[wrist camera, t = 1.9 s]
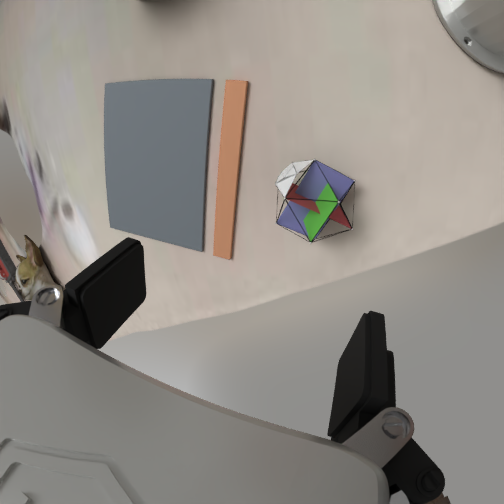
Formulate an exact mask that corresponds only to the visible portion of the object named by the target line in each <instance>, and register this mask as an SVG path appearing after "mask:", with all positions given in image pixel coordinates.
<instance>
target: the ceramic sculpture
mask: <svg viewBox="0 0 504 504" xmlns="http://www.w3.org/2000/svg"><path fill="white" fill-rule="evenodd" d="M25 240H26V253H27V258H25V257H23V256H20V255H16V257H17V259H18V260H19V261H20V262H21V263H20V264H19V265H18V266H17V269H16V282H17V283H18V284H19V287H20V289H19V290H18V293H19V295H21V296H22V297H23V298H24V299H26V300H32V298H33V296H34V294H35V293H36V291H37V290H39V289H40V288H42V287H45V286H49V285H54V286H58V287H59V288H61V289H62V287H61V286H60V285H57V284H55V283H54V281H53V280H52V278H51V276H50V273H49V271H48V269H47V267H46V265H45V263H44V262H43V260H42V256H41V253H40V250H39V248H38V247H37V246H36V244H35V243H34V242H33V241H32V240H31V239H30V238H29V237H28V236H27V235H25Z"/></svg>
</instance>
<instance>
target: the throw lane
mask: <svg viewBox="0 0 504 504" xmlns="http://www.w3.org/2000/svg"><path fill="white" fill-rule="evenodd" d="M213 80H214V79H158V80H140V81H127V82H116V83H107V84H105V98H104V151H105V173H106V188H107V201H108V211H109V221H110V227H111V228H114V229H118V230H122V231H125V232H129V233H133V234H137V235H140V236H144V237H148V238H152V239H155V240H159V241H163V242H167V243H170V244H174V245H178V246H182V247H185V248H189V249H193V250H197V251H201V252H202V251H203V240H204V211H205V189H206V170H207V154H208V139H209V125H210V113H211V101H212V90H213ZM247 88H248V81H238V80H226V85H225V95H224V106H223V117H222V128H221V140H220V153H219V166H218V181H217V196H216V213H215V231H214V252H213V255H214V256H218V257H222V258H226V259H231V256H232V244H233V232H234V220H235V209H236V198H237V187H238V176H239V165H240V155H241V145H242V135H243V125H244V116H245V106H246V97H247Z"/></svg>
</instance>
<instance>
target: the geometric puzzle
mask: <svg viewBox="0 0 504 504" xmlns="http://www.w3.org/2000/svg"><path fill="white" fill-rule="evenodd" d="M312 161H313V162H312ZM311 162H312V163H311ZM310 163H311V165H310V166H311V167H310V166H309V167H310V168H309V167H308V168H309V170H308V168H307V170H305V172H306V171H308V172H307V173H306V175H305V177H304V178H303V180H302V182H301V183H300V185H299V186H298V185H296V184H297V183H298V181H299V180H300V179H301V177H302V176H303V175H304V174H305V172H304V174H303V175H302V176H301V177H300V179H299V180H298V181H297V183H296V184H293V181H294V179H295V177H296V175H297V173H299V172H300V171H301V170H302V169H304V168H305V167H306V166H307V165H309V164H310ZM301 172H303V171H301ZM353 184H354V190H355V180H352V179H350V178H349V177H347V176H345V175H343V174H341V173H340V172H338V171H336V170H334V169H332V168H330V167H328V166H326V165H324V164H323V163H321V162H319V161H317V160H316V159H314V160H307V161H299V162H292V163H291V164H290V165H289V166H288V167H287V168H285V169H284V170H283V171H282V172H281V174H280V176H278V179H277V181H276V183H275V185H276V186H277V188H278V189H279V191H280V192H281V194H282V195H283V197H284V201H285V200H286V199H287V200H290V201H289V203H288V202H287V200H286V202H287V204H288V205H287V206H286V208H285V210H284V211H283V213H282V215H281V216H280V218H279V216H278V218H279V219H277V216H276V223H275V224H278V225H280V226H284V227H286V228H289V229H291V230H294V231H296V232H298V233H301V234H303V235H306V236H307V238H308V237H309V238H308V240H309V239H310V240H309V241H308V242H310V244H311V243H312V242H313V241H314V240H315V239H318V238H317V236H318V235H319V233H320V232H321V231H322V229H323V228H324V226H325V225H326V224H327V222H328V221H329V219H332V220H334V221H336V222H338V223H340V224H342V225H345V226H347V227H349V228H351V229H350V230H353V228H352V227H353V223H352V227H351V224H350V222H349V220H348V218H347V216H346V214H345V212H344V210H343V208H342V206H341V203H342V201H343V199H344V198H345V196H346V195H347V193H348V192H349V190H350V189H351V187H352V185H353ZM284 201H283V204H284ZM277 203H278V196H277ZM283 204H282V207H283ZM340 206H341V207H340ZM282 207H281V209H282ZM341 208H342V209H341ZM353 211H354V206H353ZM280 212H281V210H280ZM279 215H280V213H279ZM284 227H283V228H284ZM286 228H285V229H286ZM287 230H288V229H287ZM289 231H290V230H289ZM346 231H348V230H346ZM342 232H345V231H342ZM342 232H341V233H342ZM292 233H293V232H292ZM339 233H340V232H339ZM339 233H338V234H339ZM294 234H295V233H294ZM296 235H297V234H296ZM331 235H332V236H333V234H331ZM335 235H336V233H335ZM327 236H329V235H327ZM299 237H300V236H299ZM324 237H325V236H324ZM329 237H330V236H329ZM301 238H302V237H301ZM320 238H321V237H320ZM326 238H327V237H326ZM303 239H304V238H303ZM313 239H314V240H313ZM323 239H324V238H323ZM320 240H321V239H320ZM306 241H307V240H306ZM317 241H318V240H317ZM314 242H315V241H314Z"/></svg>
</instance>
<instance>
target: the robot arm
mask: <svg viewBox="0 0 504 504" xmlns="http://www.w3.org/2000/svg"><path fill="white" fill-rule="evenodd" d="M433 3H434V6H435V9H436V12H437V14H438V16H439V18H440V20H441V22H442V24H443V25H444V27H445V28H446V30H447V31H448V33H449V34H450V36H451V37H452V38H453V39H454V40H455V42H456V43H457V44H458V45H459V46H460V47H461V48H462V49H463V50H464V51H465V52H466V53H467V54H468V55H469V56H471V57H472V58H473V59H475V60H476V61H477V62H478V63H480V64H482V65H484V66H485V67H487V68H489V69H491V70H494V71H496V72H499V73H504V0H433ZM464 40H465V41H466V43H467V44H465V42H464ZM65 288H66V289H65V290H64V291H62V289H61V288H59V287H58V286H54V285H49V286H45V287H42V288H40V289H39V290H37V291H36V293H35V294H34V296H33V298H32V301H26V302H19V303H12V304H5V305H1V306H0V504H451V503H450V501H449V498H448V496H446V497H444V495H443V493H442V491H443V489H444V486H445V478H444V475H443V473H442V472H441V470H440V469H439V468H438V467H437V465H436V464H435V463H434V462H433V461H432V460H431V459H430V458H429V457H428V455H427V454H426V453H425V452H424V451H423V450H422V449H421V448H420V446H419V445H418V444H417V443H416V442H415V441H414V440H413V439H412V435H413V433H414V423H413V420H412V418H411V417H410V415H409V414H408V413H407V412H405V411H404V410H402V409H400V408H396V403H395V402H396V399H395V372H394V356H393V352H392V351H388V350H387V346H386V331H385V319H384V315H383V314H380V313H377V312H373V311H369V313H368V314H366V313H364V314H363V316H362V317H361V319H360V321H359V323H358V325H357V327H356V329H355V331H354V333H353V335H352V337H351V339H350V341H349V343H348V345H347V347H346V348H345V350H344V352H343V354H342V356H341V358H340V360H339V364H338V369H337V376H336V383H335V390H334V397H333V404H332V410H331V416H330V422H329V428H328V436H330V437H331V440H328V439H325V438H321V437H318V436H314V435H311V434H308V433H304V432H300V431H296V430H293V429H289V428H286V427H282V426H279V425H276V424H272V423H269V422H266V421H263V420H259V419H256V418H253V417H250V416H247V415H244V414H241V413H238V412H235V411H233V410H230V409H227V408H224V407H221V406H219V405H216V404H213V403H211V402H208V401H206V400H203V399H200V398H198V397H195V396H193V395H191V394H188V393H186V392H183V391H181V390H179V389H176V388H174V387H172V386H169V385H167V384H165V383H163V382H160V381H158V380H156V379H154V378H152V377H150V376H148V375H146V374H144V373H141V372H139V371H137V370H135V369H133V368H131V367H129V366H127V365H125V364H123V363H121V362H119V361H117V360H116V359H114V358H112V357H110V356H108V355H106V354H104V353H103V352H101V351H99V350H97V349H100V348H102V347H103V346H104V344H105V343H106V342H107V341H108V340H109V339H110V338H111V337H112V335H113V334H114V333H115V332H116V331H117V330H118V329H119V328H120V327H121V325H122V324H123V323H124V322H125V321H126V320H127V319H128V318H129V317H130V316H131V315H132V313H133V312H134V311H135V310H136V309H137V308H138V307H139V306H140V305H141V304H142V303H143V302H144V300H145V298H146V283H145V268H144V249H143V246H142V245H141V242H140V241H138V240H135V239H132V238H129V237H128V238H126V239H124V240H123V241H121V242H120V243H119V244H117V245H116V246H115V247H113V248H112V249H111V250H109V251H108V252H107V253H105V254H104V255H103V256H101V257H100V258H99V259H97V260H96V261H95V262H93V263H92V264H91V265H90V266H88V267H87V268H86V269H84V270H83V271H82V272H81V273H79V274H78V275H77V276H76V277H74V278H73V279H72V280H71V281H69V282H68V283H67V284H66V285H65Z"/></svg>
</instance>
